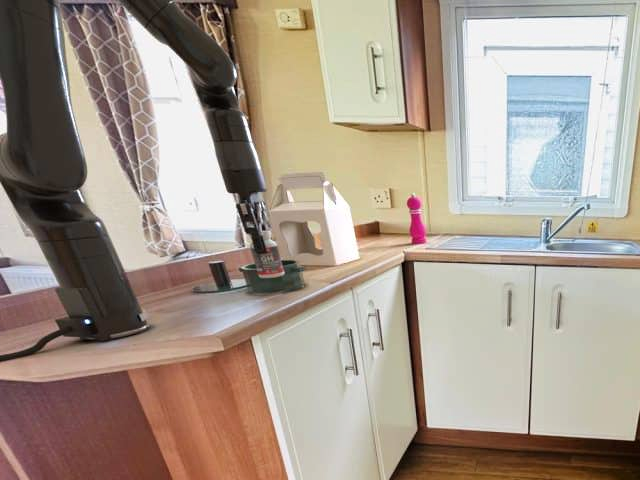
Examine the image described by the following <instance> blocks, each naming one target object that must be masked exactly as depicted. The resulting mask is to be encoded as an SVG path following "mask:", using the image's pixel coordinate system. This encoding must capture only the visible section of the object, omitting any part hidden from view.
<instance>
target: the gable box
mask: <svg viewBox="0 0 640 480" xmlns="http://www.w3.org/2000/svg"><path fill="white" fill-rule="evenodd" d="M278 180H279V182H280V184H279V185H277V186H276V187H277V188H276V190H275V194H274V196H273V199H272V201H271V204H270V208H269V210H268V213H269V217H270V220H271V223H272V227H273V231H274V235H275V238H276V243H277V247H278V250H279V254H280V258H281V260H298V261H299V262H300V266H308V267H309V266H311V267H312V266H314V267H316V266H320V267H337V266H341V265H344V264H347V263H350V262H354V261H358V260H360V253H359V248H358V243H357V237H356V233H355V228H354V227H355V226H354V223H353V218H352V213H351V207H350V205H349V204H348V203H347V201H346V200H345V199H344V198H343V197H342V195H341V194H340V193H339V192H338V190H337V189H336V188H335V186H334V185H333V182H329V181H327V180H326V177H325V174H324V173H323V172H322V171H313V172H312V171H311V172H297V173H295V172H294V173H283V174H281V176H280V177H279V178H278ZM306 189H307V190H309V189H322V198H323V199H322V200H311V201H310V200H309V201H307V200H306V201H295V199H294V197H293V196H292V193H291V190H306ZM309 222H316V223H318V224H319V226H320V246H321V248H318V247H317V246H316V242H315V241H316V239H315V236H314V234H313V232H312V230H311V227H310V226H309Z"/></svg>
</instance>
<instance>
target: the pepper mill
mask: <svg viewBox="0 0 640 480" xmlns="http://www.w3.org/2000/svg"><path fill="white" fill-rule="evenodd" d="M406 206H407V208H408V209H409V210H408V212H409V215H410V225H409V231H408V232H409V236H410V237H411V244H413V245H421V244H426V243H427V238H426V235H427V230H426V227H425V225H424V223H423V220H422V216H421V214H422V210H421V207H422V202H421V199H420V198H418V197H416V194H415V193H414V192H412V193H410V197H409V198H408V199H407V200H406Z"/></svg>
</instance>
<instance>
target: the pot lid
mask: <svg viewBox="0 0 640 480" xmlns="http://www.w3.org/2000/svg"><path fill="white" fill-rule="evenodd" d="M207 264H208V267H209V270H210V273H211V276H212V278H213V282H208V283H204V284H199V285H196V286H194V287H193V288H192V289H191V290H192V292H193V293H195V294H213V293H214V294H215V293H221V292H223V293H225V292H230V291H235V290H240V289H244V288H247V284H246V281H245V278H240V279H239V278H238V279H236V278H235V279H231V278H230V275H229V271H228V268H227V265H226V262H225V260H214V261H209V262H208V263H207Z"/></svg>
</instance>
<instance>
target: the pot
mask: <svg viewBox="0 0 640 480" xmlns="http://www.w3.org/2000/svg"><path fill="white" fill-rule="evenodd" d="M281 261H282V265H283V269H284V275H282V276H278V277H272V278H260V277H259V275H258V272H257V269H256V265H255V262H254V263H250V264H245V265H243V266H241V267H238V271H239V272H240V273H242V274H243V279H245V281H246V284H247V287H246V288H247V291H248V292H249V293H251V294H270V293H277V295H279V294H286V293H292V292H295V291H299V290H301V289H303V288H305V287H306V282H305V277H304V274H303V273H304V272H306V271H307V267H306V265H300V262H299V261H298V260H282V259H281Z"/></svg>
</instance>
